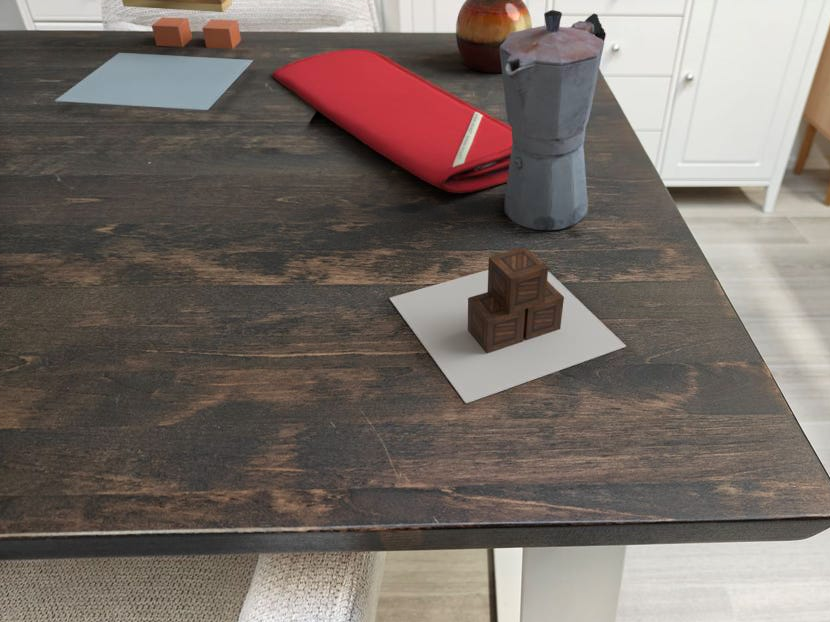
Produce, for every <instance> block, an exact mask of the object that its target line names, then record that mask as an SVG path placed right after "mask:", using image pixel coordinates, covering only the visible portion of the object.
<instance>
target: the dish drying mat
mask: <svg viewBox="0 0 830 622" xmlns="http://www.w3.org/2000/svg"><path fill="white" fill-rule="evenodd" d="M271 77H272V78H273V79H275V80H276V81H277V82H278V83H280V84H281V85H283V86H284V87H286V88H287V89H289V90H290V91H291V92H293V93H294V94H296V95H297V96H298V97H299V98H300V99H301V100H303V101H305V102H306V103H307V104H309V105H310V106H311V107H312V108H314V109H315V110H316V111H317V112H318V113H320V114H321V115H323V116H324V117H326V118H327V119H328V120H329V121H331V122H333V123H334V124H335V125H337V126H338V127H340V128H341V129H342V130H345V132H347V133H349V134H351V135H352V136H354V137H355V138H356V139H357V140H359V141H360V142H361V143H363V144H365V145H366V146H368V147H369V148H371V149H372V150H374V151H375V152H377V153H378V154H380V155H381V156H383V157H384V158H386V159H388V160H389V161H391V162H393V163H395V164H396V165H397V166H399V167H401V168H402V169H403V170H405V171H407V172H408V173H410V174H412V175H413V176H415V177H417V178H419V179H420V180H422V181H424V182H426V183H428V184H429V185H432V186H434V187H435V188H437V189H441V190H443V191H445V192H447V193H452V194H468V193H473V192H478V191H482V190H485V189H489V188H492V187H495V186H498V185H501V184H505V183H507V178H508V172H509V164H510V156H511V149H512V142H513V141H512V127H511V126H510V125H509V124H508V123H505V122H503V121H502V120H500V119H498V118H495V117H493V116H492V115H490V114H488V113H486V112H484V111H483V110H481V109H479V108H477V107H476V106H474V105H472V104H470V103H468V102H467V101H466V100H463V99H461V98H460V97H458V96H456V95H454V94H453V93H451V92H449V91H447V90H445V89H443V88H441V87H439V86H437V85H436V84H434V83H432V82H430V81H428V79H425V78H423V77H421V76H420V75H418V74H416V73H415V72H413V71H411V70H409V69H408V68H406V67H403V66H402V65H400V64H398V63H397V62H395V61H393V60H392V59H391V58H390V57H388V56H386V55H384V54H382V53H379V52H375V51H372V50H368V49H359V48H347V49H340V50H333V51H329V52H324V53H318V54H315V55H310V56H308V57H304V58H301V59H298V60H295V61H292V62H290V63H287V64H285V65H283V66H280V67H278V68H277V69H276V70H275V71H273V73H272V75H271Z"/></svg>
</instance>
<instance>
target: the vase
mask: <svg viewBox="0 0 830 622" xmlns="http://www.w3.org/2000/svg"><path fill="white" fill-rule="evenodd" d="M532 22H533V21H532V18H531V14H530V11H529V9H528V7H527V5H526V4H525V2H524V1H523V0H465V1H464V2H463V4H462V6H461V7H460V9H459V11H458V15H457V18H456V22H455V40H456V45H457V49H458V52H459V55H460V57H461V59H462V60H463V62H464V63H465V64H466V65H467V66H468V67H469V68H471V69H472V70H474V71H478V72H482V73H490V74H491V73H492V74H495V73H496V74H499V73H501V74H502V67H501V59H500V46H501V45H502V43H503V42H504V41H505V40H506V38H507V37H508V36H509V34H510V33H512V32H517V31H522V30H526V29H531V28H533V23H532Z"/></svg>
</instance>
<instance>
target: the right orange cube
mask: <svg viewBox="0 0 830 622" xmlns="http://www.w3.org/2000/svg"><path fill="white" fill-rule="evenodd" d="M201 28H202V33H203V37H204V43H205V47H206V48H207V49H221V50H222V49H224V50H233V49H235V48H236V46H237V45H239V44H240V42H241V41H242V37H241V31H240V26H239V21H238V20H237V19H236V20H234V19H210V20H209V21H208V22H207V23H206V24H205V25H204V26H203V27H201Z"/></svg>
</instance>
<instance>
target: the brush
mask: <svg viewBox="0 0 830 622" xmlns="http://www.w3.org/2000/svg"><path fill="white" fill-rule="evenodd" d="M121 1H122V5H123V7H128V8H145V9H163V10H177V11H178V10H179V11H194V12H195V11H196V12H212V13H224V12H225V11H226V10H227V9H228V8H230V6H232V5H233V0H121Z"/></svg>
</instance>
